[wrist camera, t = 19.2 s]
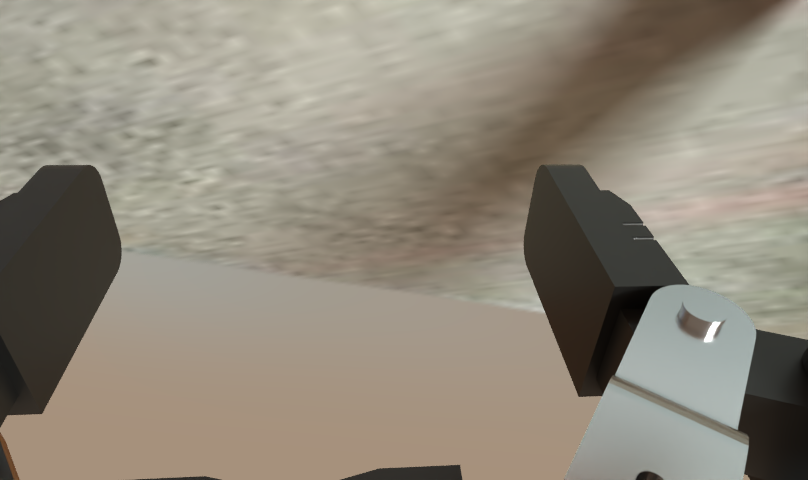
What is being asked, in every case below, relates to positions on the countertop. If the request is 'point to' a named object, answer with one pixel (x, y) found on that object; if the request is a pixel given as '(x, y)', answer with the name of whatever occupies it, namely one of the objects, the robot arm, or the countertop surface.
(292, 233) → the countertop surface
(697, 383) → the robot arm
